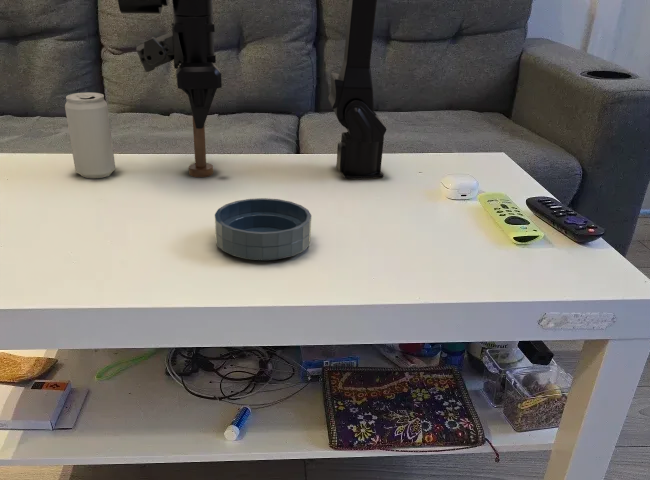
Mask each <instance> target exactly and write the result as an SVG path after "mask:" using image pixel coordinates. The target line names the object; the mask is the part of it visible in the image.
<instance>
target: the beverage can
mask: <svg viewBox="0 0 650 480" xmlns="http://www.w3.org/2000/svg"><path fill="white" fill-rule="evenodd" d="M65 100H66V102H65V104H64V109H65V116H66V121H67V128H68V134H69V141H70V148H71V153H72V158H73V165H74V170H75V172H76V174H78V175H80V176H81V177H83V178H86V179H102V178H106V177H109V176H110V175H112V173H113V172H115V170H116V161H115V154H114V153H115V152H114V145H113V138H112V130H111V122H110V116H109V115H110V114H109V113H110V112H109V108H108V107H109V106H108V102H107V101H106V100H105V94H103V93H100V92H86V91H85V92H75V93H70V94H68V95H66V96H65Z"/></svg>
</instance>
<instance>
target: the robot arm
mask: <svg viewBox="0 0 650 480" xmlns="http://www.w3.org/2000/svg"><path fill="white" fill-rule="evenodd" d="M171 2H172V17H173V20H172V22H171V31H170V32H167V33H166V34H163V35H160V36H157V37H155V36H152V37H151V38H148V39H147V40H146V39H144V40H143V43H141V44H139V45H138V46H136V53H137V55H138V58H139V61H140V62H141V64H142V67H143V69H144V71H145V73H149V72H151V71H155V69H156V68H157V67H160V66H162V65H165V64H168V63H169V62H172V61H173V68H174V70H175V72H176V73H175V78H176V86H177V89H179V90H181V91H183V92H184V93H185V94H186V95H187V96H188V100H189V105H190V109H191V113H192V114H193V116H192V119H193V118H194V122H195V126H196V128H197V129H202V128H203V127H204V126H205V124H206V120H207V118H208V115H209V112H210V109H211V105H212V104H213V101H214V98H215V95H216V92H217V90H218V89H221V88H223V84H222V83H223V82H222V81H223V80H222V72H221V70H220V68H219V67H218V66H217V65H216V63H217V60H216V59H217V57H216V54H215V35H214V34H215V32H216V29H215V23H214V15H213V14H214V11H213V9H214V8H213V0H172V1H171ZM117 3H118V8H119V11H120V13H121V14H122V15H123V14H124V15H125V14H126V15H161V14H162V8H163V6H164V7H168V6H169V0H117ZM377 3H378V0H348V8H347V20H346V31H345V42H344V54H343V60H342V64H341V67H340V70H339V73H336V72H330V93H329V95H328V97H327V98H328V102H329V104H330V106H331V108H332V111H333V112H334V114H335V117H336V118H337V120H338V122H339V124H340V125H341V126H342V127H343V128H345V129H346V130H347V131H345V132H344V131H342V132H341V137H340V142H338V143H337V148H336V149H337V151H336V166H335V168H336V169H337V170H338V172H339V173H340V174H341V176H342V177H343V179H345V180H357V179H358V180H360V179H380V178H381V179H382V178H384V176H385V174H384V173H383V172H382V171H381V169H382V161H383V151H384V140H385V134H386V132H387V127H386V126H385V124H384V122H382V120H381V118H380V117H379V116H378V114H377V113H376V112H375V105H374V104H375V103H374V87H373V86H374V85H373V78H372V71H371V69H372V68H371V58H372V50H373V43H374V42H373V41H374V31H375V24H376V23H375V22H376V14H377V5H378V4H377Z"/></svg>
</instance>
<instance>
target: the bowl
mask: <svg viewBox="0 0 650 480" xmlns="http://www.w3.org/2000/svg"><path fill="white" fill-rule="evenodd" d="M311 230H312V214H311V212H310V210H309V209H307V208H306V207H305V206H303V205H301V204H299V203H297V202H296V203H295V202H294V201H291V200H290V201H289V200H285V199H280V198H268V197H267V198H266V197H261V198H260V197H259V198H257V197H256V198H246V199H240V200H235V201H232V202H229V203H226V204H224V205H222V206H221V207H219V208H218V209H217V210H216V212H215V213H214V233H215V242H216V246H217V247H218V248H219V249H220V250H221V251H223V252H224V253H227V254H229V255H231V256H233V257H236V258H237V257H238V258H241V259H245V260H250V261H261V262H262V261H263V262H264V261H265V262H266V261H276V260H282V259H286V258H290V257H294V256H297V255H298V254H301V253H302V252H304V251H305V250H306V249H307V248H309V246H310V243H311V235H312V234H311V233H312V232H311Z"/></svg>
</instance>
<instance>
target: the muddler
mask: <svg viewBox="0 0 650 480" xmlns="http://www.w3.org/2000/svg"><path fill="white" fill-rule="evenodd" d="M191 116H192V131H193V151H194V162H193V163H191V164H189V165H188V175H189V176H191V177H195V178H208V177H210V176H213V175H214V165H213V164H212V163H209V162H207V150H206V149H207V148H206V131H205V129H206V127H205V125H204V127H203V128H202V129H197V128H196V126H195V122H194V118H193V114H192V115H191Z"/></svg>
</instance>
